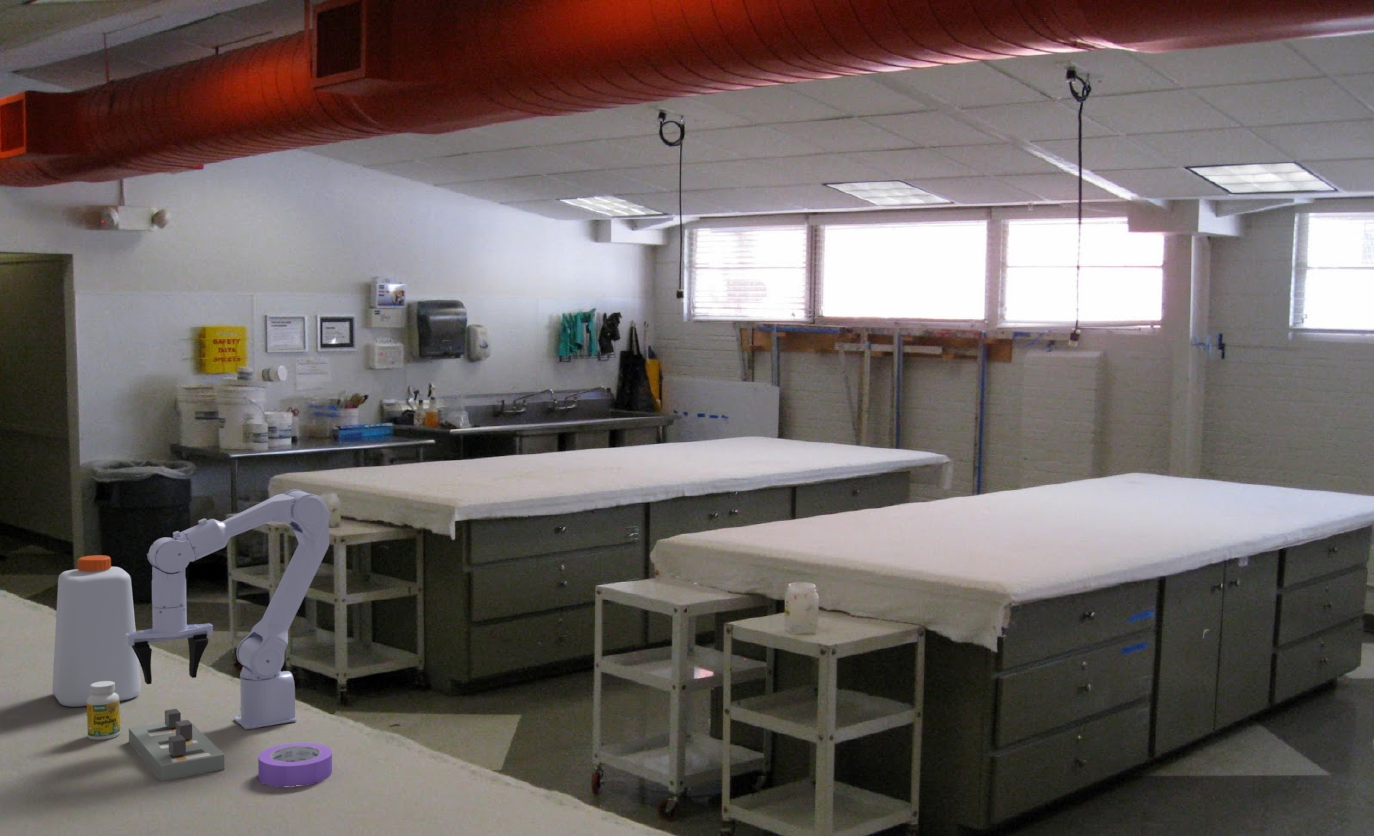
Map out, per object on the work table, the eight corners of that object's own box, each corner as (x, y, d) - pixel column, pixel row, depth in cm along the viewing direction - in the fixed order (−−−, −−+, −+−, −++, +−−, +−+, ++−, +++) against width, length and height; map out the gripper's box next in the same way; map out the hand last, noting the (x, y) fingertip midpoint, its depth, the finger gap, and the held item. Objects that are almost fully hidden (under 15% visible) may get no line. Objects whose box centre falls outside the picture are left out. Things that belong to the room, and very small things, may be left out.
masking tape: (346, 768, 214) (346, 746, 213) (304, 792, 203) (303, 768, 202) (287, 760, 217) (287, 738, 217) (243, 783, 206) (242, 760, 206)
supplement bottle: (117, 729, 233) (116, 678, 232) (122, 737, 228) (121, 684, 228) (85, 734, 230) (84, 682, 229) (90, 742, 225) (88, 689, 225)
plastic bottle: (145, 699, 252) (142, 559, 250) (61, 711, 244) (58, 566, 242) (130, 681, 265) (127, 548, 263) (49, 692, 256) (46, 555, 254)
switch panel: (187, 731, 232) (187, 717, 231) (224, 769, 212) (224, 753, 212) (129, 741, 226) (128, 726, 226) (161, 780, 206) (161, 764, 206)
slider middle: (187, 733, 221) (187, 719, 221) (192, 738, 219) (192, 724, 219) (175, 735, 220) (175, 721, 220) (180, 740, 218) (179, 725, 218)
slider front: (181, 749, 213) (181, 734, 213) (185, 754, 211) (185, 739, 211) (168, 751, 212) (168, 736, 212) (173, 756, 210) (172, 741, 209)
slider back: (176, 722, 228) (176, 708, 228) (180, 726, 225) (180, 712, 225) (164, 723, 227) (164, 710, 227) (168, 728, 224) (168, 714, 224)
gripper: (205, 596, 235) (206, 668, 236) (121, 605, 227) (122, 680, 227) (215, 603, 229) (216, 677, 230) (129, 612, 221) (131, 689, 222)
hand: (170, 679), depth 228 cm, fingers open, 7 cm apart
